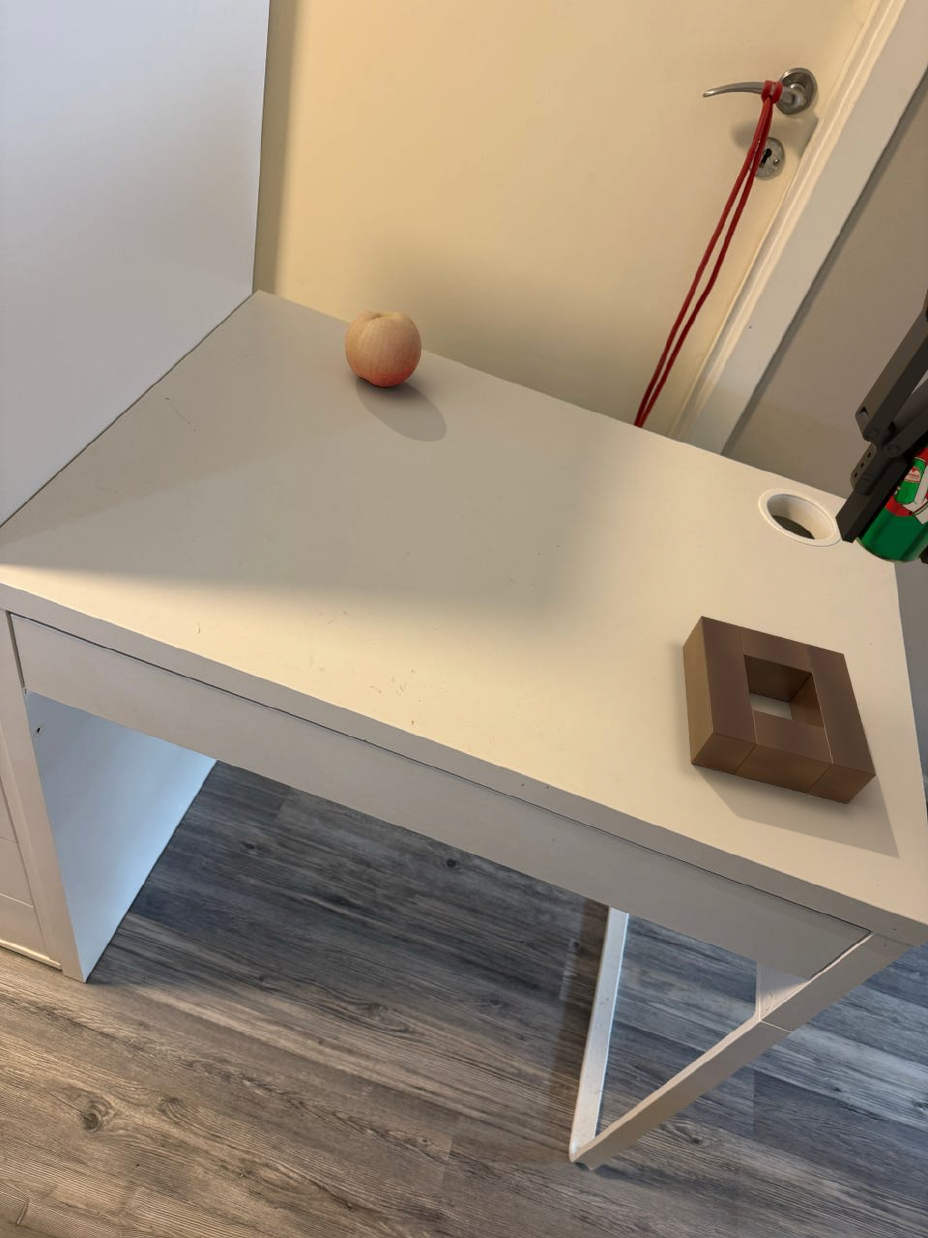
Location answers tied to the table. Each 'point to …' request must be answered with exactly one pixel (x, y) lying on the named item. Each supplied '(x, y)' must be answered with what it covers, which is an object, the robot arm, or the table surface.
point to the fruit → (383, 347)
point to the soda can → (902, 512)
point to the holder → (767, 744)
